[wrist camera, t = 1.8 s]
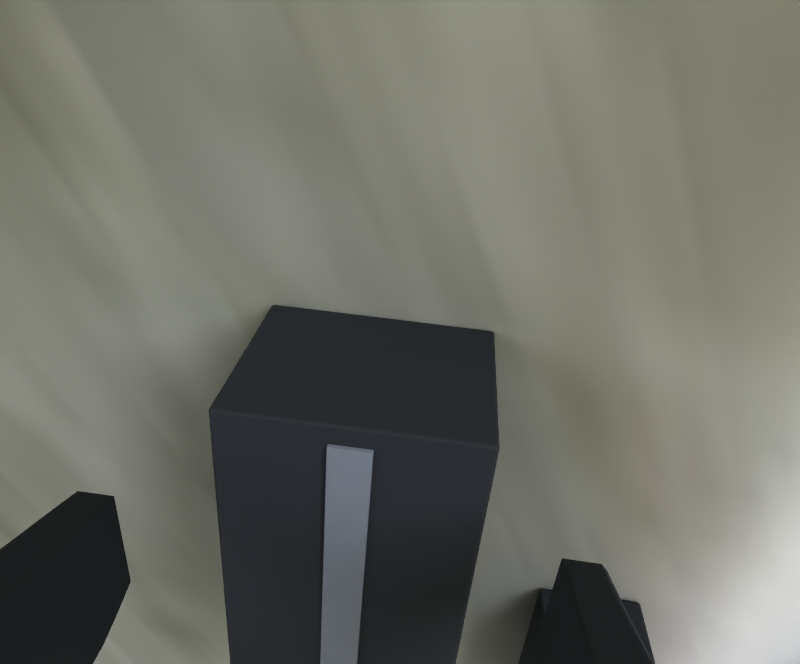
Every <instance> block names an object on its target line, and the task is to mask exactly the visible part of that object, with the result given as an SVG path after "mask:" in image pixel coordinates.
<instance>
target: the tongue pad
mask: <svg viewBox="0 0 800 664" xmlns="http://www.w3.org/2000/svg"><path fill="white" fill-rule="evenodd" d="M209 418H210V430H211V442H212V453H213V465H214V477H215V489H216V500H217V512H218V524H219V535H220V547H221V559H222V570H223V582H224V594H225V605H226V617H227V629H228V640H229V652H230V664H455V663H456V658H457V653H458V648H459V643H460V638H461V633H462V629H463V624H464V619H465V614H466V609H467V604H468V599H469V594H470V589H471V584H472V580H473V575H474V570H475V565H476V560H477V555H478V550H479V545H480V540H481V535H482V531H483V526H484V521H485V516H486V511H487V506H488V501H489V496H490V491H491V486H492V482H493V477H494V472H495V467H496V462H497V457H498V452H499V432H498V410H497V388H496V367H495V345H494V333H493V332H491V331H483V330H475V329H467V328H459V327H451V326H442V325H434V324H426V323H418V322H409V321H401V320H393V319H385V318H377V317H368V316H360V315H352V314H344V313H335V312H327V311H319V310H311V309H303V308H294V307H286V306H278V305H273V306H272V307H271V309H270V310H269V312H268V313H267V315H266V317H265V318H264V320H263V322H262V323H261V325H260V327H259V328H258V330H257V332H256V333H255V335H254V336H253V338H252V340H251V341H250V343H249V345H248V346H247V348H246V350H245V351H244V353H243V354H242V356H241V358H240V359H239V361H238V363H237V364H236V366H235V368H234V369H233V371H232V373H231V374H230V376H229V377H228V379H227V381H226V382H225V384H224V386H223V387H222V389H221V391H220V392H219V394H218V395H217V397H216V399H215V400H214V402H213V404H212V405H211V407H210V409H209Z"/></svg>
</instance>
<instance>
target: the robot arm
mask: <svg viewBox="0 0 800 664" xmlns="http://www.w3.org/2000/svg"><path fill="white" fill-rule="evenodd" d="M129 584H130V576H129V571H128V566H127V560H126V555H125V550H124V545H123V540H122V535H121V530H120V525H119V520H118V515H117V510H116V505H115V499H114V496H109V495H101V494H94V493H87V492H80V491H77V492H76V493H75V494H73V495H72V496H70V497H69V498H68V499H66V500H65V501H64V502H62V503H61V504H60V505H58V506H57V507H56V508H54V509H53V510H52V511H50V512H49V513H48V514H46V515H45V516H44V517H42V518H41V519H40V520H38V521H37V522H36V523H34V524H33V525H32V526H30V527H29V528H28V529H27V530H25V531H24V532H23V533H21V534H20V535H19V536H17V537H16V538H15V539H13V540H12V541H11V542H9V543H8V544H7V545H5V546H4V547H3V548H1V549H0V664H93V662H94V661H95V659H96V657H97V655H98V653H99V651H100V650H101V648H102V646H103V644H104V642H105V640H106V638H107V635H108V633H109V631H110V629H111V626H112V624H113V622H114V620H115V617H116V615H117V613H118V610H119V608H120V606H121V603H122V601H123V598H124V596H125V593H126V591H127V589H128V586H129ZM537 657H538V664H655V663H654V662H653V660H652V658H651V656H650V654H649V652H648V651H647V649H646V647H645V645H644V643H643V641H642V639H641V637H640V636H639V634H638V632H637V630H636V628H635V626H634V624H633V622H632V620H631V618H630V617H629V615H628V613H627V611H626V609H625V607H624V605H623V603H622V601H621V599H620V597H619V595H618V593H617V591H616V589H615V587H614V585H613V583H612V581H611V578H610V576H609V574H608V572H607V570H606V569H605V568H604V567H603V565H602V564H597V563H589V562H582V561H575V560H568V559H562V560H561V563H560V567H559V570H558V573H557V577H556V580H555V583H554V587H553V590H552V593H551V597H550V600H549V603H548V606H547V610H546V613H545V616H544V620H543V623H542V626H541V630H540V633H539V636H538V640H537Z"/></svg>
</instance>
